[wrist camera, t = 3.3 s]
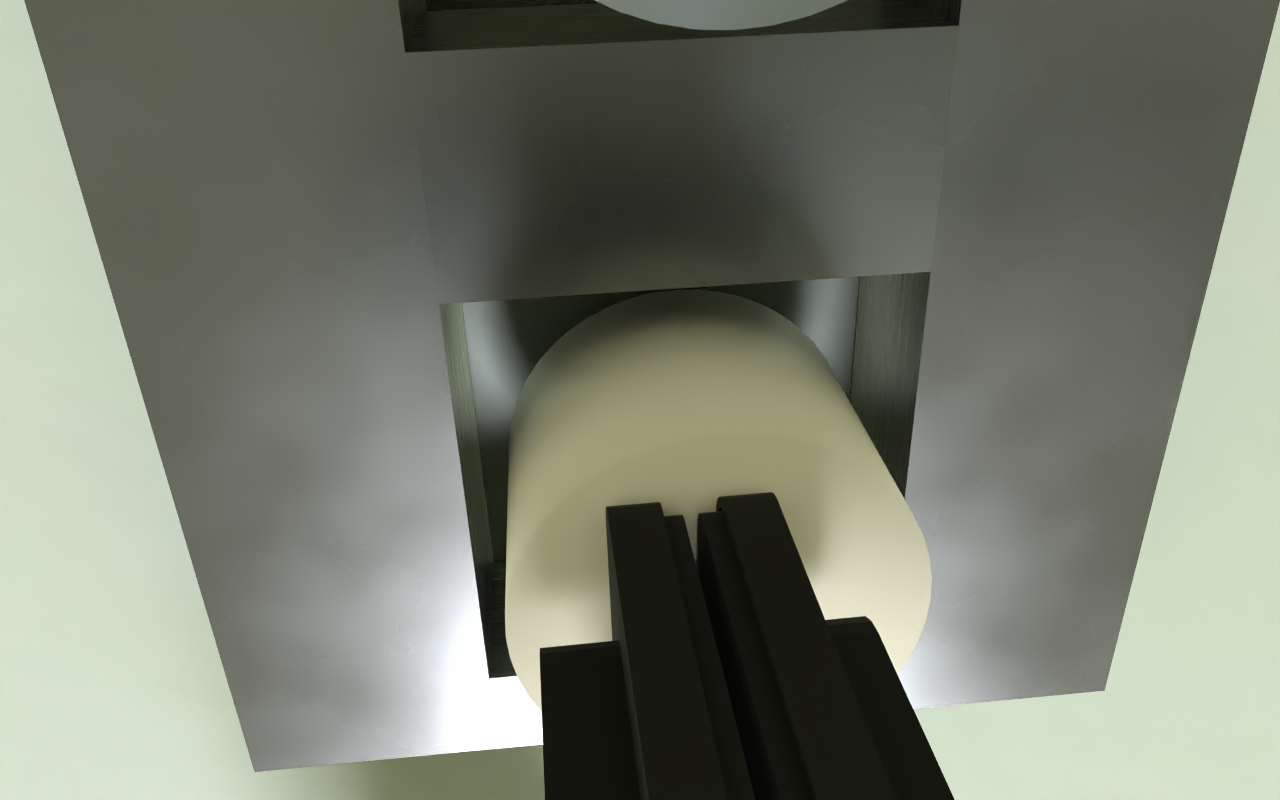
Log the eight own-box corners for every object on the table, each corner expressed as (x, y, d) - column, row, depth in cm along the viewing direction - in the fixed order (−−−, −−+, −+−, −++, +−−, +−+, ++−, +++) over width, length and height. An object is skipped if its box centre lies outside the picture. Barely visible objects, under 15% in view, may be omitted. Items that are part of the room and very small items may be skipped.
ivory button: (855, 277, 13) (954, 416, 10) (832, 565, 15) (910, 749, 12) (492, 302, 12) (482, 451, 9) (523, 591, 15) (524, 788, 12)
